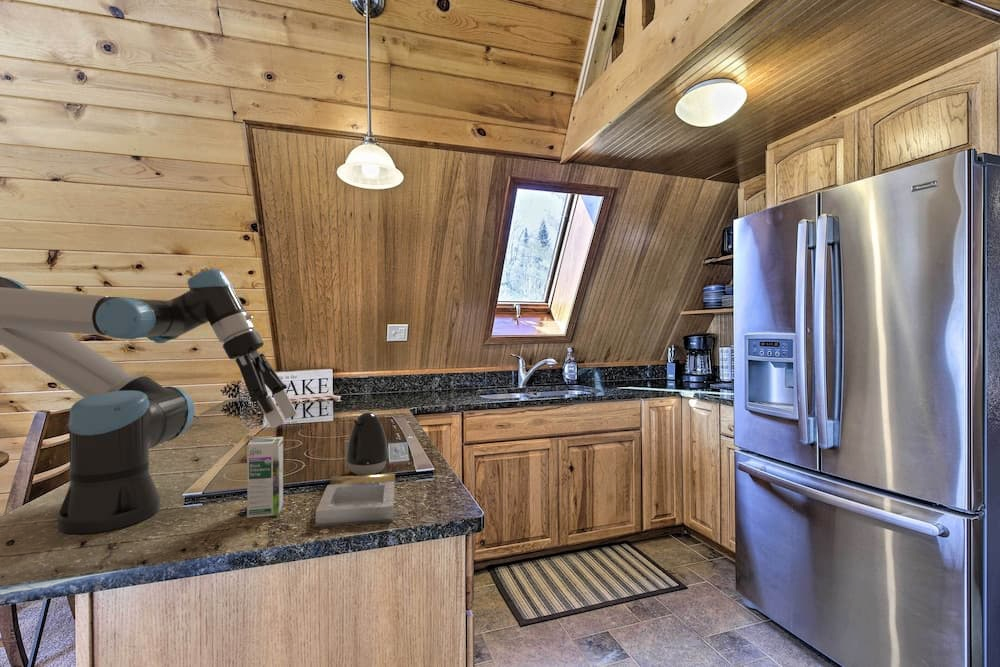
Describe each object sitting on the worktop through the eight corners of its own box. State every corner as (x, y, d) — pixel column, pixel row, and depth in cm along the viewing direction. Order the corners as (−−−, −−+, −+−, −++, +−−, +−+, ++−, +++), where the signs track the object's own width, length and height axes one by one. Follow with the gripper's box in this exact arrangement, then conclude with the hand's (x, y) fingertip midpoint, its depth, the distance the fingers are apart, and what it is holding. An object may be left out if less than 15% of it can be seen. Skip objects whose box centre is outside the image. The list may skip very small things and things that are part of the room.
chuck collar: (315, 527, 88) (315, 511, 88) (327, 498, 102) (327, 484, 102) (392, 521, 91) (393, 506, 91) (394, 494, 105) (394, 481, 105)
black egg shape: (336, 477, 115) (336, 415, 115) (361, 464, 125) (361, 407, 125) (373, 482, 113) (374, 418, 112) (395, 469, 122) (396, 410, 122)
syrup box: (246, 519, 91) (246, 444, 91) (253, 507, 97) (253, 436, 96) (278, 516, 93) (278, 442, 92) (283, 504, 98) (283, 435, 98)
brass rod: (330, 492, 105) (330, 479, 105) (332, 487, 108) (332, 474, 108) (394, 489, 108) (394, 476, 108) (394, 484, 111) (395, 471, 111)
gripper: (238, 326, 94) (290, 420, 95) (269, 331, 118) (310, 405, 120) (200, 344, 92) (253, 439, 94) (239, 345, 116) (281, 420, 118)
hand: (285, 420), depth 107 cm, fingers open, 13 cm apart
